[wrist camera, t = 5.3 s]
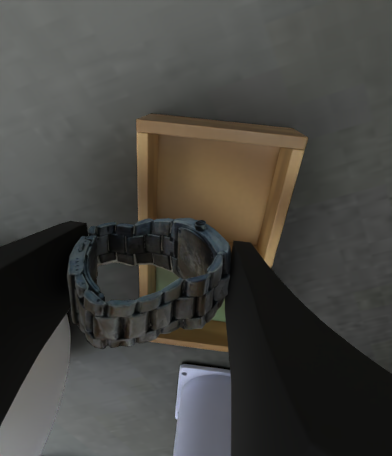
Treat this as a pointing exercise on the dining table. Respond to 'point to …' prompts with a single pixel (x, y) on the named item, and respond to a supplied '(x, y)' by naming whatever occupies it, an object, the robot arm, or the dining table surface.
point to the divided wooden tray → (215, 192)
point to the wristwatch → (156, 302)
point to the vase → (38, 398)
